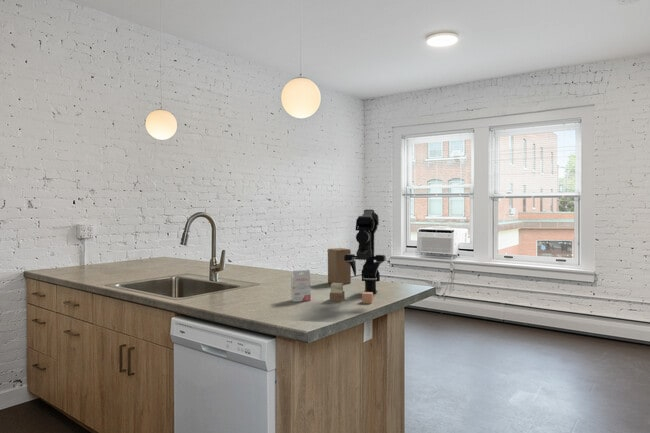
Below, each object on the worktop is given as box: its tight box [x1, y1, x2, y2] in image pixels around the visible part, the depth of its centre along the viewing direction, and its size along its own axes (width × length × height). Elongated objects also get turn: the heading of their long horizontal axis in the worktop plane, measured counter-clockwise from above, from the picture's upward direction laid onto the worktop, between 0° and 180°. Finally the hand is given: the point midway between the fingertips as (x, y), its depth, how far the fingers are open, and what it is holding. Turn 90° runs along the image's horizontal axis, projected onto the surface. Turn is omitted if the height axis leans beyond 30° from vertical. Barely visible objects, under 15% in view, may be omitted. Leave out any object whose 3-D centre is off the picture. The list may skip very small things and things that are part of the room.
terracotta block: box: [361, 291, 374, 304], centre depth 217 cm, size 4×4×4 cm
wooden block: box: [327, 247, 352, 285], centre depth 271 cm, size 10×10×20 cm
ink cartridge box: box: [290, 269, 312, 302], centre depth 223 cm, size 9×5×15 cm, turn 105°
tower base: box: [329, 290, 346, 303], centre depth 223 cm, size 6×6×4 cm
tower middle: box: [330, 283, 344, 293], centre depth 223 cm, size 5×5×4 cm
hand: (364, 276), depth 217 cm, fingers open, 9 cm apart
